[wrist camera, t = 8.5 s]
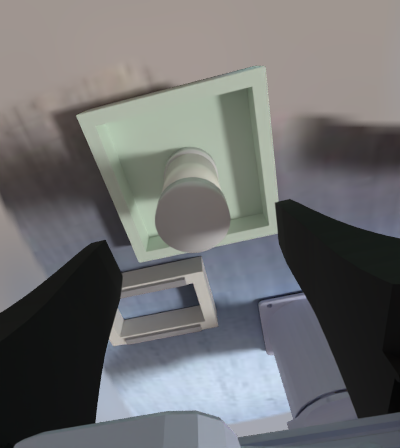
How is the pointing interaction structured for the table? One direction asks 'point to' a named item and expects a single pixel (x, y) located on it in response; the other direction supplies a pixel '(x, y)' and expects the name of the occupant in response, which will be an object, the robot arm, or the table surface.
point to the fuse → (191, 203)
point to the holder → (171, 320)
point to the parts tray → (188, 137)
